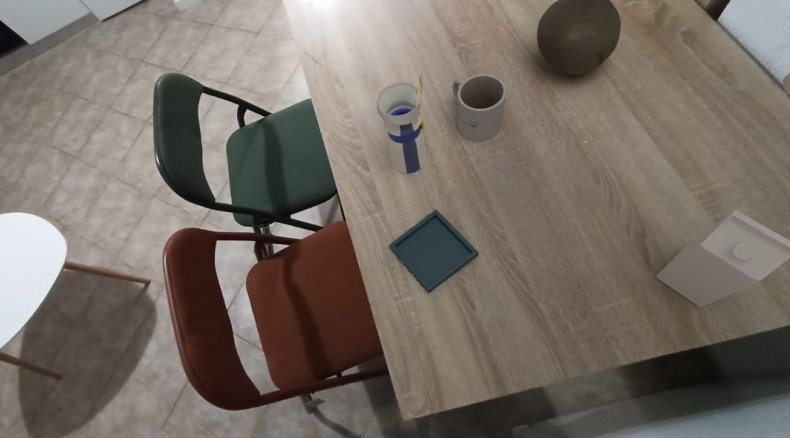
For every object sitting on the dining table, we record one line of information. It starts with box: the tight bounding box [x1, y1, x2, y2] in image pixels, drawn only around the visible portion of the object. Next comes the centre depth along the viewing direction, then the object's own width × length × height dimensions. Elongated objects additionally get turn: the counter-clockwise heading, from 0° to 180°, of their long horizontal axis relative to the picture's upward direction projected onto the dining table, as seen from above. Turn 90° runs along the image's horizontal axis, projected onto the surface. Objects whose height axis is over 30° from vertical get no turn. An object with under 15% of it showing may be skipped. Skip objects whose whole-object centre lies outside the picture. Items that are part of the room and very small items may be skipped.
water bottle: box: [376, 73, 428, 174], centre depth 82 cm, size 8×9×25 cm
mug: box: [452, 73, 507, 142], centre depth 88 cm, size 12×9×10 cm
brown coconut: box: [536, 0, 622, 75], centre depth 85 cm, size 14×14×15 cm
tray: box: [388, 209, 480, 294], centre depth 83 cm, size 12×12×2 cm
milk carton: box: [655, 209, 790, 308], centre depth 62 cm, size 7×7×19 cm
